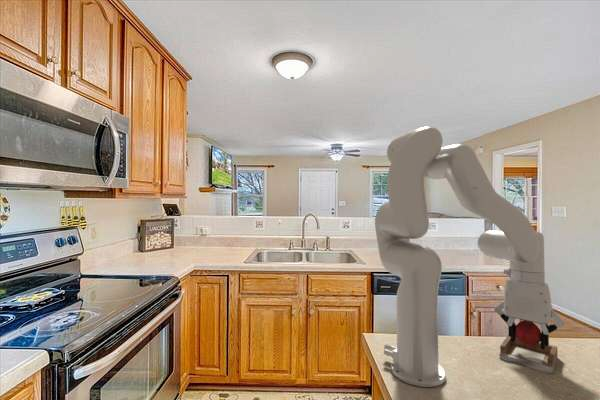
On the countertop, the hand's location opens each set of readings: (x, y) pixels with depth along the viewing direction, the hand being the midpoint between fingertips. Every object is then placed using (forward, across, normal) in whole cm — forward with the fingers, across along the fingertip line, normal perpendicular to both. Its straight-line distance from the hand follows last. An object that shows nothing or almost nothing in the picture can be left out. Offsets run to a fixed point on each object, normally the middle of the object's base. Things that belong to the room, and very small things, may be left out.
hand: (528, 343), depth 82 cm
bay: (+4, 0, 0) cm, 4 cm away
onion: (+1, 0, 0) cm, 1 cm away
